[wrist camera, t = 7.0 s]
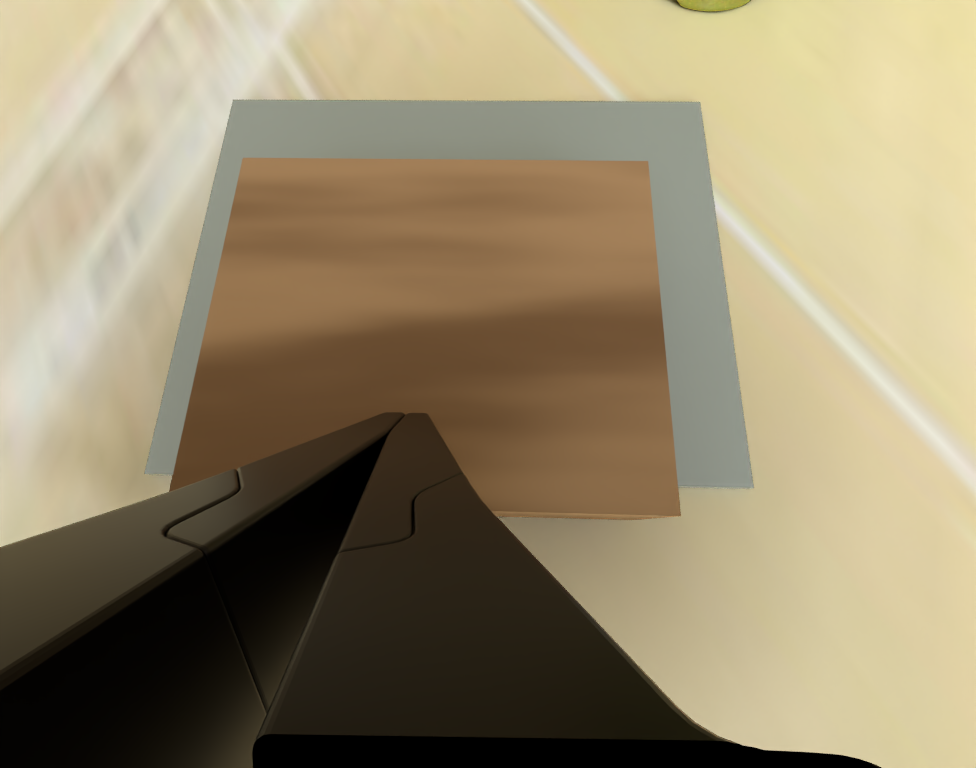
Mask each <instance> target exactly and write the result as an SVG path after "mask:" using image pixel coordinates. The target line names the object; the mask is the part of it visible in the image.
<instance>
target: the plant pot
mask: <svg viewBox="0 0 976 768" xmlns="http://www.w3.org/2000/svg"><path fill="white" fill-rule="evenodd" d="M677 1H678V3H679V4H680V5H681V6H683V7H685V8H689V9H693V10H699V11H723V10H729V9H733V8H736V7H740V6H742V5H744V4H746V3H748V2H749V1H750V0H677Z"/></svg>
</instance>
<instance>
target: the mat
mask: <svg viewBox="0 0 976 768" xmlns="http://www.w3.org/2000/svg"><path fill="white" fill-rule="evenodd" d="M243 158H343V159H464V160H585V161H648V165H649V175H650V186H651V197H652V208H653V219H654V230H655V241H656V252H657V263H658V274H659V284H660V295H661V306H662V317H663V328H664V339H665V350H666V361H667V372H668V383H669V393H670V404H671V415H672V426H673V437H674V448H675V459H676V470H677V481H678V487H694V488H736V489H751V488H754V486H753V479H752V471H751V464H750V457H749V450H748V443H747V435H746V428H745V421H744V414H743V407H742V399H741V392H740V385H739V378H738V371H737V364H736V356H735V349H734V342H733V335H732V328H731V320H730V313H729V306H728V299H727V292H726V284H725V277H724V270H723V263H722V256H721V249H720V241H719V234H718V227H717V220H716V213H715V205H714V198H713V191H712V184H711V177H710V170H709V162H708V155H707V148H706V141H705V134H704V126H703V119H702V112H701V105H700V102H606V101H388V100H233V103H232V107H231V111H230V115H229V120H228V124H227V128H226V132H225V136H224V141H223V145H222V149H221V153H220V158H219V162H218V166H217V170H216V174H215V179H214V183H213V187H212V191H211V195H210V200H209V204H208V208H207V212H206V216H205V221H204V225H203V229H202V233H201V237H200V242H199V246H198V250H197V254H196V258H195V263H194V267H193V271H192V275H191V280H190V284H189V288H188V292H187V296H186V301H185V305H184V309H183V313H182V317H181V322H180V326H179V330H178V334H177V338H176V343H175V347H174V351H173V355H172V359H171V364H170V368H169V372H168V376H167V381H166V385H165V389H164V393H163V397H162V402H161V406H160V410H159V414H158V418H157V423H156V427H155V431H154V435H153V439H152V444H151V448H150V452H149V456H148V460H147V465H146V469H145V473H144V474H149V475H173V472H174V467H175V463H176V458H177V454H178V449H179V445H180V440H181V435H182V431H183V426H184V422H185V417H186V413H187V408H188V404H189V399H190V395H191V390H192V386H193V381H194V377H195V372H196V368H197V363H198V358H199V354H200V349H201V345H202V340H203V336H204V331H205V327H206V322H207V318H208V313H209V309H210V304H211V300H212V295H213V290H214V286H215V281H216V277H217V272H218V268H219V263H220V259H221V254H222V250H223V245H224V241H225V236H226V232H227V227H228V223H229V218H230V213H231V209H232V204H233V200H234V195H235V191H236V186H237V182H238V177H239V173H240V168H241V164H242V159H243Z"/></svg>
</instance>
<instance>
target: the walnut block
mask: <svg viewBox="0 0 976 768" xmlns="http://www.w3.org/2000/svg"><path fill="white" fill-rule="evenodd" d="M385 412H402V413H404V414H407V413H427V414H428V415H429V416H430V418H431V420H432V421H433V423H434V425H435V426H436V428H437V430H438V431H439V433H440V435H441V436H442V438H443V440H444V441H445V443H446V445H447V447H448V448H449V450H450V452H451V453H452V455H453V457H454V458H455V460H456V462H457V463H458V465H459V467H460V468H461V470H462V472H463V473H464V475H465V476H466V477H467V479H468V481H469V482H470V484H471V486H472V487H473V488H474V490H475V491H476V493H477V494H478V496H479V497H480V498H481V500H482V501H483V502H484V503H485V504H486V506H487V507H488V508H489V509H490V510H491V511H492V512H493V513H494V515H495V516H505V517H543V518H582V519H620V520H637V519H650V518H663V517H676V516H681V513H680V502H679V492H678V481H677V470H676V459H675V448H674V437H673V426H672V415H671V404H670V393H669V383H668V372H667V361H666V350H665V339H664V328H663V317H662V306H661V295H660V284H659V274H658V263H657V252H656V241H655V230H654V219H653V208H652V197H651V186H650V175H649V165H648V161H585V160H464V159H343V158H243V159H242V164H241V168H240V173H239V177H238V182H237V186H236V191H235V195H234V200H233V204H232V209H231V213H230V218H229V223H228V227H227V232H226V236H225V241H224V245H223V250H222V254H221V259H220V263H219V268H218V272H217V277H216V281H215V286H214V290H213V295H212V300H211V304H210V309H209V313H208V318H207V322H206V327H205V331H204V336H203V340H202V345H201V349H200V354H199V358H198V363H197V368H196V372H195V377H194V381H193V386H192V390H191V395H190V399H189V404H188V408H187V413H186V417H185V422H184V426H183V431H182V435H181V440H180V445H179V449H178V454H177V458H176V463H175V467H174V472H173V476H172V481H171V485H170V490H169V492H170V491H173V490H176V489H179V488H182V487H185V486H187V485H190V484H193V483H196V482H199V481H201V480H204V479H207V478H210V477H212V476H215V475H218V474H220V473H223V472H226V471H228V470H231V469H236V471H237V469H238V468H239V467H241V466H244V465H247V464H249V463H252V462H255V461H257V460H260V459H263V458H265V457H268V456H271V455H273V454H276V453H279V452H281V451H284V450H287V449H289V448H292V447H294V446H297V445H300V444H302V443H305V442H308V441H310V440H313V439H316V438H318V437H321V436H324V435H326V434H329V433H332V432H334V431H337V430H340V429H342V428H345V427H347V426H350V425H353V424H355V423H358V422H361V421H363V420H366V419H369V418H371V417H374V416H377V415H379V414H382V413H385Z"/></svg>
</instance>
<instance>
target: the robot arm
mask: <svg viewBox="0 0 976 768" xmlns="http://www.w3.org/2000/svg"><path fill="white" fill-rule="evenodd" d="M0 768H881V767H879V766H877V765H874V764H872V763H869V762H866V761H863V760H860V759H857V758H852V757H848V756H843V755H835V754H823V753H809V752H790V751H768V750H761V749H757V748H754V747H747V746H742V745H740V744H738V743H735V742H732V741H730V740H727V739H724V738H722V737H719V736H717V735H715V734H714V733H712V732H710V731H709V730H707V729H705V728H704V727H702V726H700V725H699V724H697V723H695V722H694V721H693V720H692V719H691V718H690V717H689V716H687V715H686V714H685V713H684V712H683V711H682V710H680V709H679V708H678V707H677V706H676V705H675V704H674V703H673V702H672V701H671V699H670V698H669V697H668V696H667V695H666V694H665V693H664V692H663V691H662V690H661V689H660V688H659V687H658V686H657V685H656V684H655V683H654V682H653V681H652V680H651V678H650V677H649V676H648V675H647V674H646V673H645V672H644V671H643V670H642V669H641V668H640V667H639V666H638V665H637V664H636V663H635V662H634V661H633V660H632V659H631V657H630V656H629V655H628V654H627V653H626V652H625V651H624V650H623V649H622V648H621V647H620V646H619V645H618V644H617V643H616V642H615V641H614V640H613V639H612V638H611V636H610V635H609V634H608V633H607V632H606V631H605V630H604V629H603V628H602V627H601V626H600V625H599V624H598V623H597V622H596V621H595V620H594V619H593V618H592V617H591V615H590V614H589V613H588V612H587V611H586V610H585V609H584V608H583V607H582V606H581V605H580V604H579V603H578V602H577V601H576V600H575V599H574V598H573V597H572V596H571V594H570V593H569V592H568V591H567V590H566V589H565V588H564V587H563V586H562V585H561V584H560V583H559V582H558V581H557V580H556V579H555V578H554V577H553V576H552V575H551V573H550V572H549V571H548V570H547V569H546V568H545V567H544V566H543V565H542V564H541V563H540V562H539V561H538V560H537V559H536V558H535V557H534V556H533V555H532V554H531V552H530V551H529V550H528V549H527V548H526V547H525V546H524V545H523V544H522V543H521V542H520V541H519V540H518V539H517V538H516V537H515V536H514V535H513V534H512V533H511V531H510V530H509V529H508V528H507V527H506V526H505V525H504V524H503V523H502V522H501V521H500V520H499V519H498V518H497V517H496V516H495V515H494V513H493V512H492V511H491V510H490V509H489V508H488V507H487V506H486V504H485V503H484V502H483V501H482V500H481V498H480V497H479V496H478V494H477V493H476V491H475V490H474V488H473V487H472V486H471V484H470V482H469V481H468V479H467V477H466V476H465V475H464V473H463V472H462V470H461V468H460V467H459V465H458V463H457V462H456V460H455V458H454V457H453V455H452V453H451V452H450V450H449V448H448V447H447V445H446V443H445V441H444V440H443V438H442V436H441V435H440V433H439V431H438V430H437V428H436V426H435V425H434V423H433V421H432V420H431V418H430V416H429V415H428V414H427V413H407V414H404V413H402V412H385V413H382V414H379V415H377V416H374V417H371V418H369V419H366V420H363V421H361V422H358V423H355V424H353V425H350V426H347V427H345V428H342V429H340V430H337V431H334V432H332V433H329V434H326V435H324V436H321V437H318V438H316V439H313V440H310V441H308V442H305V443H302V444H300V445H297V446H294V447H292V448H289V449H287V450H284V451H281V452H279V453H276V454H273V455H271V456H268V457H265V458H263V459H260V460H257V461H255V462H252V463H249V464H247V465H244V466H241V467H239V468H238V469H237V471H236V469H231V470H228V471H226V472H223V473H220V474H218V475H215V476H212V477H210V478H207V479H204V480H201V481H199V482H196V483H193V484H190V485H187V486H185V487H182V488H179V489H176V490H173V491H170V492H167V493H164V494H161V495H158V496H155V497H153V498H150V499H147V500H144V501H141V502H138V503H135V504H132V505H129V506H126V507H122V508H119V509H116V510H113V511H110V512H107V513H104V514H101V515H98V516H95V517H92V518H89V519H86V520H82V521H79V522H76V523H73V524H70V525H67V526H64V527H61V528H58V529H55V530H52V531H49V532H45V533H42V534H39V535H36V536H33V537H30V538H27V539H24V540H21V541H18V542H15V543H12V544H9V545H5V546H2V547H0Z"/></svg>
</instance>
